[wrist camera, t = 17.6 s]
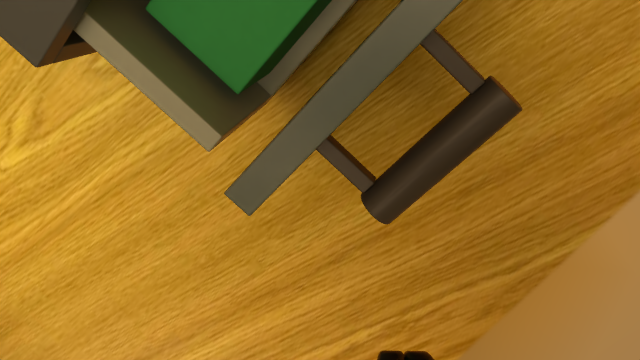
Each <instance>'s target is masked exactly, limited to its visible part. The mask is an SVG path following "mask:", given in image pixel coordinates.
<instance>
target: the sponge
mask: <svg viewBox="0 0 640 360" xmlns="http://www.w3.org/2000/svg"><path fill="white" fill-rule="evenodd" d="M331 1H332V0H150V2H149V3H148V5H147V6H146V10H147V11H148V12H149V13H150V14H151V15H152V16H153V17H154V18H155V19H156V20H157V21H159V22H160V23H161V24H162V25H163V26H164V27H165V28H166V29H167V30H168V31H169V32H170V33H172V34H173V35H174V36H175V37H176V38H177V39H178V40H179V41H180V42H181V43H182V44H183V45H185V46H186V47H187V48H188V49H189V50H190V51H191V52H192V53H193V54H194V55H195V56H196V57H197V58H199V59H200V60H201V61H202V62H203V63H204V64H205V65H206V66H207V67H208V68H209V69H210V70H212V71H213V72H214V73H215V74H216V75H217V76H218V77H219V78H220V79H221V80H222V81H223V82H225V83H226V84H227V85H228V86H229V87H230V88H231V89H232V90H233V91H234V92H235V93H237V94H239V93H241V92H242V91H244V90H245V89H247V88H248V87H250V86H251V85H253V84H254V83H256V82H257V81H259V80H260V79H262V78H263V77H265V76H266V75H268V74H269V73H270V72H271V71H272V70H273V69H274V67H275V66H276V65H277V64H278V63H279V62H280V60H281V59H282V58H283V57H284V56H285V55H286V53H287V52H288V51H289V50H290V49H291V48H292V46H293V45H294V44H295V43H296V42H297V41H298V39H299V38H300V37H301V36H302V35H303V34H304V32H305V31H306V30H307V29H308V28H309V27H310V25H311V24H312V23H313V22H314V21H315V20H316V18H317V17H318V16H319V15H320V14H321V13H322V11H323V10H324V9H325V8H326V7H327V6H328V4H329V3H330V2H331Z"/></svg>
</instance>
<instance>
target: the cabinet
mask: <svg viewBox="0 0 640 360" xmlns="http://www.w3.org/2000/svg"><path fill="white" fill-rule="evenodd" d="M90 2H91V0H0V36H1V37H2V38H3V39H4V40H5V41H7V42H8V43H9V44H10V45H11V46H12V47H13V48H14V49H16V50H17V51H18V52H19V53H20V54H21V55H22V56H24V57H25V58H26V59H27V60H28V61H29V62H30V63H31V64H33V65H34V66H35V67H41V66H45V65H49V64H52V63H57V62H60V61H64V60H68V59H72V58H76V57H79V56H83V55H87V54H91V53H94V52H97V51H96V50H95V49H94V48H93V47H92V46H91V45H89V44H88V43H87V42H86V41H85V40H84V39H83V38H82V37H81V36H79V35H78V34H77V33H76V32H75V31H74V30H73V29H74V27H75V26H76V24H77V23H78V21H79V19H80V18H81V16H82V15H83V13H84V11H85V10H86V8H87V7H88V5H89V3H90Z"/></svg>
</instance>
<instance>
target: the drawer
mask: <svg viewBox="0 0 640 360" xmlns="http://www.w3.org/2000/svg"><path fill="white" fill-rule="evenodd" d="M357 1H358V0H332V1H331V2H330V3H329V4H328V6H327V7H326V8H325V9H324V10H323V11H322V13H321V14H320V15H319V16H318V17H317V18H316V20H315V21H314V22H313V23H312V24H311V25H310V27H309V28H308V29H307V30H306V31H305V32H304V34H303V35H302V36H301V37H300V38H299V39H298V41H297V42H296V43H295V44H294V45H293V46H292V48H291V49H290V50H289V51H288V52H287V53H286V55H285V56H284V57H283V58H282V59H281V60H280V62H279V63H278V64H277V65H276V66H275V67H274V69H273V70H272V71H271V72H270V73H269V74H268V75H266V76H265V77H263V78H262V79H260V80H259V81H257V82H256V83H254V84H253V85H251V86H250V87H248V88H247V89H245V90H244V91H242V92H241V93H239V94H237V93H235V92H234V91H233V90H232V89H231V88H230V87H229V86H228V85H227V84H226V83H225V82H223V81H222V80H221V79H220V78H219V77H218V76H217V75H216V74H215V73H214V72H213V71H212V70H210V69H209V68H208V67H207V66H206V65H205V64H204V63H203V62H202V61H201V60H200V59H199V58H197V57H196V56H195V55H194V54H193V53H192V52H191V51H190V50H189V49H188V48H187V47H186V46H185V45H183V44H182V43H181V42H180V41H179V40H178V39H177V38H176V37H175V36H174V35H173V34H172V33H170V32H169V31H168V30H167V29H166V28H165V27H164V26H163V25H162V24H161V23H160V22H159V21H157V20H156V19H155V18H154V17H153V16H152V15H151V14H150V13H149V12H148V11H147V10H146V6H147V5H148V3H149V2H150V0H91V2H90V3H89V5H88V7H87V8H86V10H85V11H84V13H83V15H82V16H81V18H80V19H79V21H78V23H77V24H76V26H75V27H74V29H73V30H74V31H75V32H76V33H77V34H78V35H79V36H81V37H82V38H83V39H84V40H85V41H86V42H87V43H88V44H89V45H91V46H92V47H93V48H94V49H95V50H96V51H97V52H98V53H99V54H100V55H102V56H103V57H104V58H105V59H106V60H107V61H108V62H109V63H110V64H112V65H113V66H114V67H115V68H116V69H117V70H118V71H119V72H120V73H122V74H123V75H124V76H125V77H126V78H127V79H128V80H129V81H130V82H132V83H133V84H134V85H135V86H136V87H137V88H138V89H139V90H140V91H142V92H143V93H144V94H145V95H146V96H147V97H148V98H149V99H150V100H152V101H153V102H154V103H155V104H156V105H157V106H158V107H159V108H160V109H161V110H163V111H164V112H165V113H166V114H167V115H168V116H169V117H170V118H171V119H173V120H174V121H175V122H176V123H177V124H178V125H179V126H180V127H181V128H183V129H184V130H185V131H186V132H187V133H188V134H189V135H190V136H191V137H193V138H194V139H195V140H196V141H197V142H198V143H199V144H200V145H201V146H203V147H204V148H205V149H206V150H207V151H208V152H209V151H211V150H212V149H213V148H214V147H216V146H217V145H218V144H219V143H220V142H222V141H223V140H224V139H225V138H226V137H228V136H229V135H230V134H231V133H232V132H233V131H235V130H236V129H237V128H238V127H239V126H241V125H242V124H243V123H244V122H245V121H247V120H248V119H249V118H250V117H251V116H252V115H254V114H255V113H256V112H257V111H258V110H260V109H261V108H262V107H263V106H264V105H265V104H267V102H268V101H269V100H270V99H271V98H272V97H273V96H274V95H275V93H276V92H277V91H278V90H279V89H280V88H281V87H282V85H283V84H284V83H285V82H286V81H287V80H288V79H289V78H290V76H291V75H292V74H293V73H294V72H295V71H296V70H297V69H298V67H299V66H300V65H301V64H302V63H303V62H304V61H305V59H306V58H307V57H308V56H309V55H310V54H311V53H312V52H313V50H314V49H315V48H316V47H317V46H318V45H319V44H320V42H321V41H322V40H323V39H324V38H325V37H326V36H327V35H328V33H329V32H330V31H331V30H332V29H333V28H334V27H335V26H336V24H337V23H338V22H339V21H340V20H341V19H342V18H343V16H344V15H345V14H346V13H347V12H348V11H349V10H350V9H351V7H352V6H353V5H354V4H355V3H356V2H357ZM462 1H463V0H401V1H400V3H399V4H398V5H397V6H396V7H395V8H394V9H393V10H392V11H391V12H390V13H389V14H388V16H387V17H386V18H385V19H384V20H383V21H382V22H381V23H380V24H379V25H378V26H377V27H376V28H375V30H374V31H373V32H372V33H371V34H370V35H369V36H368V37H367V38H366V39H365V40H364V41H363V43H362V44H361V45H360V46H359V47H358V48H357V49H356V50H355V51H354V52H353V53H352V54H351V55H350V57H349V58H348V59H347V60H346V61H345V62H344V63H343V64H342V65H341V66H340V67H339V68H338V70H337V71H336V72H335V73H334V74H333V75H332V76H331V77H330V78H329V79H328V80H327V81H326V82H325V84H324V85H323V86H322V87H321V88H320V89H319V90H318V91H317V92H316V93H315V94H314V95H313V97H312V98H311V99H310V100H309V101H308V102H307V103H306V104H305V105H304V106H303V107H302V108H301V109H300V111H299V112H298V113H297V114H296V115H295V116H294V117H293V118H292V119H291V120H290V121H289V122H288V124H287V125H286V126H285V127H284V128H283V129H282V130H281V131H280V132H279V133H278V134H277V135H276V137H275V138H274V139H273V140H272V141H271V142H270V143H269V144H268V145H267V146H266V147H265V149H264V150H263V151H262V152H261V153H260V154H259V155H258V156H257V157H256V158H255V160H254V161H253V162H252V163H251V164H250V165H249V166H248V167H247V168H246V169H245V171H244V172H243V173H242V174H241V175H240V176H239V177H238V178H237V179H236V180H235V181H234V183H233V184H232V185H231V186H230V187H229V188H228V189H227V190H226V191H225V193H224V194H225V195H226V196H227V197H228V198H229V199H231V200H232V201H233V202H234V203H235V204H236V205H237V206H238V207H239V208H241V209H242V210H243V211H244V212H245V213H246V214H247V215H248V216H250V215H252V214H253V213H254V212H255V211H256V210H257V209H258V208H259V207H260V206H261V205H262V203H263V202H264V201H265V200H266V199H267V198H268V197H269V196H270V195H271V194H272V193H273V192H274V191H275V190H276V189H277V188H278V187H279V186H280V185H281V184H282V183H283V182H284V181H285V180H286V179H287V178H288V177H289V176H290V175H291V174H292V173H293V172H294V171H295V170H296V169H297V168H298V167H299V166H300V165H301V164H302V163H303V162H304V161H305V160H306V159H307V158H308V157H309V156H310V155H311V154H312V153H313V152H314V151H315V150H317V151H318V152H319V153H320V154H321V155H323V156H324V157H325V158H326V159H327V160H328V161H329V162H330V163H331V164H332V165H333V166H334V167H335V168H336V169H338V170H339V171H340V172H341V173H342V174H343V175H344V176H345V177H346V178H347V179H348V180H349V181H350V182H351V183H353V184H354V185H355V186H356V187H357V188H358V189H359V190H360V191H361V192H362V194H361V199H362V202H363V204H364V206H365V207H366V209H367V210H368V212H369V213H370V214H371V215H372V216H373V217H374V218H375V219H377V220H378V221H379V222H381V223H383V224H390V223H391V222H392V221H393V220H395V219H396V218H397V217H398V216H399V215H400V214H402V213H403V212H404V211H405V210H406V209H407V208H409V207H410V206H411V205H412V204H413V203H414V202H416V201H417V200H418V199H419V198H420V197H421V196H423V195H424V194H425V193H426V192H427V191H428V190H430V189H431V188H432V187H433V186H434V185H435V184H437V183H438V182H439V181H440V180H441V179H442V178H444V177H445V176H446V175H447V174H448V173H449V172H451V171H452V170H453V169H454V168H455V167H456V166H458V165H459V164H460V163H461V162H462V161H463V160H465V159H466V158H467V157H468V156H469V155H470V154H472V153H473V152H474V151H475V150H476V149H477V148H479V147H480V146H481V145H482V144H483V143H484V142H486V141H487V140H488V139H489V138H490V137H491V136H493V135H494V134H495V133H496V132H497V131H498V130H500V129H501V128H502V127H503V126H504V125H505V124H507V123H508V122H509V121H510V120H511V119H512V118H514V117H515V116H516V115H517V114H518V113H519V112H521V111H522V107H521V106H520V104H519V103H518V102H517V101H516V100H515V98H514V97H513V96H512V95H511V94H510V93H509V92H508V91H507V90H506V89H505V88H504V87H503V86H502V85H501V84H500V83H499V82H498V81H497V80H496V79H495V78H493V77H492V76H489V77H488V78H487V79H486V80H484V78H483V76H482V75H481V74H480V73H479V72H478V71H477V70H476V69H475V68H474V67H473V66H472V65H471V64H470V63H469V62H468V61H467V60H466V59H465V58H464V57H463V56H462V55H461V54H460V53H459V52H458V51H457V50H456V49H455V48H454V47H453V46H452V45H451V44H450V43H449V42H448V41H447V40H446V39H445V38H444V37H443V36H442V35H441V34H440V33H439V32H438V31H437V30H436V29H435V28H436V27H437V26H438V25H439V24H440V23H441V22H442V21H443V20H444V19H445V18H446V17H447V16H448V15H449V14H450V13H451V12H452V11H453V10H454V9H455V8H456V7H457V6H458V5H459V4H460V3H461V2H462ZM419 44H421V45H422V46H423V47H424V48H425V49H426V50H427V51H428V52H429V53H430V54H431V55H432V56H433V57H434V58H435V59H436V60H437V61H438V62H439V63H440V64H441V65H442V66H443V67H444V68H445V69H446V70H447V71H448V72H449V73H450V74H451V75H452V76H453V77H454V78H455V79H456V80H457V81H458V82H459V83H460V84H461V85H462V86H463V87H464V88H465V89H466V90H467V91H468V92H469V93H470V94H469V95H468V96H467V97H466V98H465V99H464V100H463V101H462V102H461V103H459V104H458V105H457V106H456V107H455V108H454V109H453V110H452V111H451V112H450V113H449V114H447V115H446V116H445V117H444V118H443V119H442V120H441V121H440V122H439V123H438V124H437V125H435V126H434V127H433V128H432V129H431V130H430V131H429V132H428V133H427V134H426V135H424V136H423V137H422V138H421V139H420V140H419V141H418V142H417V143H416V144H415V145H414V146H412V147H411V148H410V149H409V150H408V151H407V152H406V153H405V154H404V155H403V156H402V157H400V158H399V159H398V160H397V161H396V162H395V163H394V164H393V165H392V166H391V167H390V168H388V169H387V170H386V171H385V172H384V173H383V174H382V175H381V176H380V177H379V178H378V179H376V177H375V176H374V175H373V174H372V173H371V172H370V171H368V170H367V169H366V168H365V167H364V166H363V165H362V164H361V163H360V162H359V161H358V160H357V159H356V158H355V157H354V156H353V155H351V154H350V153H349V152H348V151H347V150H346V149H345V148H344V147H343V146H342V145H341V144H340V143H339V142H338V141H337V140H336V139H334V138H333V137H332V136H331V135H330V134H331V133H332V132H333V131H334V130H335V129H336V128H337V127H338V126H339V125H340V124H341V123H342V122H343V121H344V120H345V119H346V118H347V117H348V116H349V115H350V114H351V113H352V112H353V111H354V110H355V109H356V108H357V107H358V106H359V105H360V104H361V103H362V102H363V101H364V100H365V99H366V98H367V97H368V96H369V95H370V94H371V93H372V92H373V91H374V90H375V89H376V88H377V87H378V86H379V85H380V84H381V83H382V82H383V81H384V80H385V79H386V78H387V77H388V76H389V75H390V74H391V73H392V72H393V71H394V70H395V69H396V68H397V66H398V65H399V64H400V63H401V62H402V61H403V60H404V59H405V58H406V57H407V56H408V55H409V54H410V53H411V52H412V51H413V50H414V49H415V48H416V47H417V46H418V45H419ZM375 179H376V180H375Z"/></svg>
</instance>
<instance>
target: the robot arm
mask: <svg viewBox="0 0 640 360" xmlns="http://www.w3.org/2000/svg"><path fill="white" fill-rule="evenodd" d="M377 360H434V359H433V358H432V356H431V355H430V354H429V353H428V352H425V351H406V352H404V354H403V353H402V352H401V351H381V352H380V353H379V355H378V359H377Z"/></svg>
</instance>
